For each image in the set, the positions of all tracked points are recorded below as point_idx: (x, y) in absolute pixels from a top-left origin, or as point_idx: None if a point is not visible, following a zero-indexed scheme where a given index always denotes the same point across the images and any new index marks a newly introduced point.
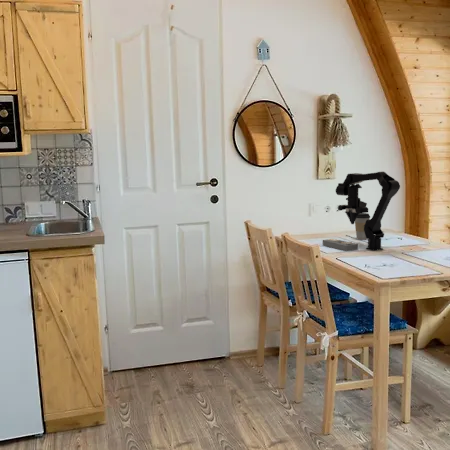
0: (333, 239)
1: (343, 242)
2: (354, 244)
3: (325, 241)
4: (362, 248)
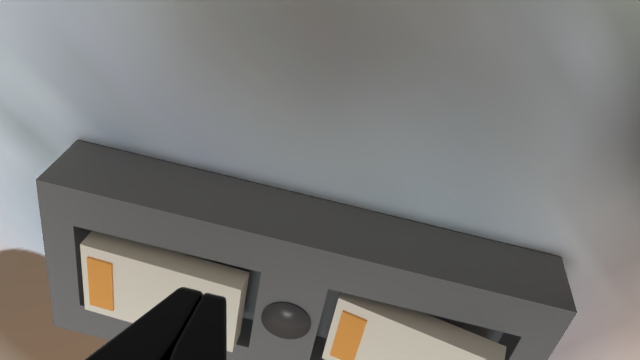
0: (141, 290)
1: (360, 342)
2: (545, 348)
3: (114, 333)
4: (574, 154)
